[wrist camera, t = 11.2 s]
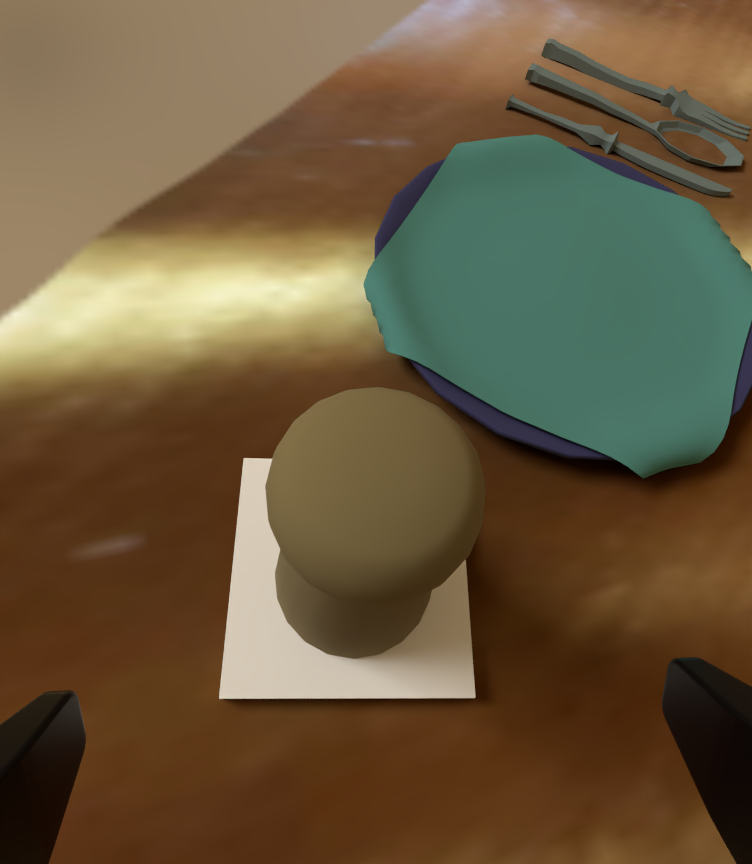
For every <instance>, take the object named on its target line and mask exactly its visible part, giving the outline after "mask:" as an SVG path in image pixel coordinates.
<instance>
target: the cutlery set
mask: <svg viewBox="0 0 752 864" xmlns="http://www.w3.org/2000/svg"><path fill="white" fill-rule="evenodd" d="M542 56H544V57H545V58H548V59H553V60H556V61H559V62H561V63H564V64H566V65H569V66H572V67H573V68H575V69H577V70H579V71H581V72H583V73H585V74H587V75H589V76H592V77H594V78H597V79H599V80H602V81H604V82H607V83H609V84H612V85H614V86H617V87H619V88H622V89H624V90H627V91H629V92H633V93H637V94H641V95H644V96H647V97H650V98H653V99H657V100H660V101H661V104H660V105H661V106H665V107H669V108H670V109H671V111H672V114H673V116H676V117H678V118H682V119H685V120H688V121H690V122H693V123H695V124H698V125H701V126H704V127H707V128H709V129H712V130H715V131H718V132H721V133H723V134H726V135H729V136H732V137H734V138H737V139H740V140H743V141H746V139H747V137H745V136H747V135H748V133H749V132H747V131H744V130H741V129H738V128H736V127H733V126H731V125H734V126H737V127H740V128H742V129H745V130H748V131H749V129H750V127H749V126H746V125H743V124H740V123H737V122H735V121H733V120H731V119H729V118H727V117H725V116H723V115H722V114H720V113H718V112H717V111H715V110H713V109H712V108H710V107H708V106H706V105H704V104H703V103H701V102H698V101H696V100H695V99H693V98H692V97H690V96H689V95H688V93H687V91H686V90H684V91H681V92H679V93H678V92H677V91H676V89H675V88H674V87H673V86H671V87H670V88H668V89H667V90H664V89H662V88H659V87H656V86H654V85H651V84H648V83H645V82H642V81H638V80H635V79H631V78H628V77H626V76H624V75H622V74H620V73H618V72H616V71H613V70H611V69H609V68H607V67H605V66H603V65H601V64H599V63H597V62H595V61H594V60H592V59H590V58H589V57H587V56H585V55H583V54H582V53H580V52H578V51H576V50H574V49H571V48H569V47H567V46H565V45H562V44H560V43H559V42H557V41H556V40H554V39H548V40H547V42H546V43H545V46H544V49H543V52H542ZM525 79H526V80H528V81H531V82H534V83H537V84H540V85H543V86H546V87H549V88H552V89H555V90H558V91H560V92H563V93H565V94H568V95H570V96H573V97H575V98H578V99H580V100H583V101H586V102H588V103H591V104H593V105H595V106H597V107H599V108H601V109H603V110H605V111H607V112H609V113H611V114H613V115H615V116H618V117H620V118H622V119H624V120H627V121H629V122H631V123H633V124H635V125H637V126H639V127H641V128H642V129H644V130H646V131H648V132H650V133H652V134H653V135H655V136H657V137H658V139H659V140H660V141H661V142H662V143H663V144H664V146H665V147H666V148H667V149H668V150H669V151H671V152H672V153H674V154H676V155H678V156H679V157H681V158H683V159H684V160H686V161H689V162H693V163H697V164H700V165H704V166H708V167H723V166H741V164H742V161H743V158H744V156H743V155H742V154H741V153H740V152H739V151H738V150H737V149H736V148H735V147H734V146H733V145H732V144H731V143H730V142H729V141H727V140H725V139H724V138H722V137H720V136H718V135H716V134H714V133H712V132H711V131H709V130H707V129H705V128H703V127H699V126H696V125H692V124H689V123H685V122H682V121H658V122H655V123H652V124H650V123H649V122H647V121H645V120H644V119H642V118H640V117H639V116H637V115H635V114H634V113H632V112H630V111H628V110H626V109H624V108H622V107H620V106H618V105H616V104H614V103H613V102H611V101H609V100H608V99H606V98H604V97H603V96H601V95H599V94H597V93H595V92H593V91H591V90H589V89H587V88H585V87H582V86H580V85H578V84H576V83H574V82H572V81H570V80H567V79H565V78H563V77H561V76H559V75H557V74H555V73H553V72H551V71H548V70H546V69H544V68H542V67H540V66H539V65H536V64H534V63H532V65H531V66H530V68H529V69H528V72H527V75H526V78H525ZM510 106H511V107H514V108H517V109H520V110H522V111H525V112H528V113H531V114H534V115H537V116H540V117H542V118H545V119H547V120H549V121H551V122H553V123H556V124H558V125H560V126H562V127H565V128H567V129H570V130H572V131H574V132H576V133H577V134H578V135H580V136H581V137H582V138H583V139H584V140H585V141H586V142H587V143H588V144H589V145H601V146H602V148H603V149H604V150H605V152H606V154H609V153H610V152H611V151H614V152H616V153H617V154H619V155H621V156H623V157H625V158H626V159H628V160H630V161H632V162H634V163H636V164H638V165H640V166H642V167H644V168H646V169H648V170H651V171H653V172H655V173H657V174H660V175H662V176H664V177H667V178H669V179H671V180H674V181H676V182H678V183H681V184H683V185H685V186H688V187H690V188H693V189H695V190H697V191H700V192H702V193H705V194H708V195H713V196H723V197H725V196H728V195H729V194H730V192H731V191H732V189H729V188H727V187H725V186H722V185H720V184H717V183H715V182H713V181H710V180H708V179H706V178H703V177H701V176H699V175H696V174H694V173H691V172H689V171H687V170H684V169H682V168H680V167H677V166H675V165H673V164H670V163H668V162H665V161H663V160H661V159H658V158H656V157H654V156H651V155H649V154H647V153H644V152H642V151H639V150H637V149H635V148H632V147H630V146H628V145H625V144H623V143H621V142H618V141H617V139H618V132H619V131H618V132H617V133H615V134H614V135H609V134H606V133H605V132H604V130H603V129H602V128H601V127H600V126H593V125H580V124H577V123H575V122H572V121H570V120H568V119H565V118H563V117H560V116H556V115H553V114H550V113H546V112H544V111H541V110H539V109H537V108H535V107H533V106H531V105H529V104H527V103H524V102H522V101H520V100H518V99H516V98H514V95H513V94H512V95H511V97H510V98H509V100H508V103H507V106H506V109H507V108H509V107H510ZM506 109H505V110H506ZM725 122H726V123H725ZM727 123H728V124H727ZM729 124H731V125H729ZM725 128H726V129H725ZM727 129H729V130H732V131H734V132H737V133H740V134H743V135H745V136H742V135H739V134H736V133H734V132H732V131H729V130H727ZM674 130H679V131H684V132H688V133H692V134H696V135H698V136H700V137H702V138H704V139H706V140H707V141H709V142H711V143H713V144H715V145H716V146H717V147H718V148H719V149H720V150H721V151H722V152H723V153H724V154H725V155H726V156H727V158H726V160H725V162H724V165H718V164H714V163H711V162H707V161H704V160H700V159H697V158H694V157H691V156H690V155H688V154H686V153H684V152H683V151H681V150H679V149H677V148H675V147H674V146H672V145H670V144H669V143H668V142H667V141H666V140H665V139H664V138H663V137H662V134H663V132H665V131H674ZM364 288H365V293H366V297H367V300H368V301H369V302H370V303H371V307H372V311H373V315H374V316H375V317H376V318H377V322H378V327H379V331H380V333H381V334H382V335H383V338H384V343H385V348H386V350H387V351H389V352H390V353H394V354H397V355H401V356H404V357H406V358H407V359H408V360H409V361H410V362H411V364H412V365H413V366H414V367H415V368H416V370H417V371H418V372H419V373H420V374H421V376H422V377H423V378H424V379H425V380H426V382H427V383H428V384H429V385H430V386H431V388H432V389H433V390H434V391H435V393H436V394H437V395H439V396H440V397H442V398H443V399H445V400H446V401H448V402H449V403H450V404H452V405H453V406H455V407H456V408H458V409H459V410H461V411H462V412H464V413H465V414H467V415H468V416H470V417H471V418H473V419H474V420H475V421H477V422H478V423H480V424H481V425H483V426H484V427H486V428H487V429H489V430H490V431H492V432H493V433H495V434H496V435H499V436H502V437H505V438H508V439H511V440H513V441H516V442H519V443H522V444H525V445H528V446H531V447H534V448H537V449H540V450H543V451H546V452H548V453H551V454H554V455H557V456H560V457H563V458H569V459H589V460H609V461H619V462H621V463H622V464H624V465H626V466H627V467H629V468H630V469H631V470H633V471H634V472H635V473H637V474H638V475H639V476H641V477H642V478H643V479H644V478H646V477H648V476H651V475H653V474H656V473H658V472H661V471H664V470H667V469H671V468H675V467H681V466H686V465H691V464H696V463H700V462H702V461H703V460H704V459H706V458H707V457H708V456H710V455H711V454H712V453H714V452H715V450H716V449H717V447H718V446H719V444H720V443H721V441H722V440H723V438H724V435H725V433H726V430H727V427H728V425H729V420H730V418H731V417H732V416H734V415H735V414H736V413H738V412H739V411H740V410H741V409H742V407H743V405H744V402H745V400H746V398H747V396H748V394H749V392H750V390H751V388H752V272H751V267H750V265H749V264H748V263H747V262H746V261H745V260H744V259H743V258H741V255H740V251H739V250H738V249H737V248H736V247H734V246H733V245H732V244H731V243H730V237H728V236H727V235H726V234H725V233H724V232H723V231H722V230H721V229H720V224H719V223H718V222H717V221H716V220H715V219H714V218H712V217H711V215H710V212H709V211H708V210H707V209H706V208H704V207H703V206H702V205H701V204H699V203H697V202H695V201H692V200H690V199H688V198H685V197H682V196H679V195H678V194H677V193H676V192H674V191H673V190H672V189H670V188H668V187H666V186H664V185H662V184H661V183H659V182H657V181H655V180H653V179H652V178H650V177H648V176H646V175H644V174H642V173H641V172H639V171H637V170H635V169H633V168H632V167H630V166H628V165H626V164H624V163H621V162H618V161H615V160H611V159H608V158H605V157H602V156H599V155H596V154H592V153H589V152H586V151H583V150H580V149H577V148H573V147H566V146H564V145H562V144H561V143H559V142H557V141H555V140H553V139H551V138H548V137H544V136H541V135H526V136H514V137H504V138H496V139H488V140H481V141H474V142H466V143H460V144H456V146H455V147H454V148H453V149H452V150H451V152H450V153H449V155H448V157H447V158H446V159H444V160H441V161H439V162H437V163H434V164H432V165H430V166H427V167H426V168H425V169H424V170H423V171H422V172H421V173H419V174H418V175H417V176H416V177H415V178H414V179H413V180H412V181H411V182H410V183H409V184H407V185H406V186H405V187H404V188H403V189H402V190H401V191H400V192H399V193H398V194H397V195H395V196H394V198H393V200H392V202H391V204H390V206H389V209H388V211H387V213H386V215H385V217H384V220H383V222H382V224H381V226H380V228H379V230H378V233H377V235H376V237H375V260H374V262H373V264H372V265H371V267H370V268H369V270H368V273H367V276H366V279H365V282H364Z"/></svg>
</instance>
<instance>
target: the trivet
mask: <svg viewBox="0 0 752 864" xmlns="http://www.w3.org/2000/svg"><path fill="white" fill-rule="evenodd" d="M271 462H272V459H257V458H244V461H243V471H242V480H241V490H240V500H239V510H238V519H237V529H236V539H235V548H234V558H233V568H232V578H231V587H230V597H229V607H228V617H227V626H226V636H225V646H224V655H223V665H222V675H221V685H220V694H219V699H432V698H476V697H475V683H474V669H473V655H472V641H471V627H470V613H469V598H468V584H467V570H466V560H465V561H464V562H463V563H462V564H461V565H460V566H459V567H458V568H457V569H456V570H455V571H454V572H453V574H452V575H451V576H450V577H449V578H448V579H447V580H446V581H445V582H444V583H443V584H442V585H441V586H439V587H437V588H435V589H433V590H432V592H431V597H430V601H429V603H428V605H427V607H426V610H425V612H424V614H423V616H422V618H421V621H420V623H419V624H418V625H417V626H416V627H415V628H414V630H413V631H412V632H411V633H410V634H409V635H408V636H407V637H406V638H405V639H404V640H403V642H401V643H399V644H398V645H396V646H394V647H392V648H390V649H388V650H387V651H385V652H383V653H381V654H379V655H373V656H367V657H361V658H355V659H352V658H346V657H340V656H334V655H329V654H326V653H324V652H323V651H321V650H319V649H317V648H315V647H314V646H312V645H310V644H308V643H306V642H305V641H304V640H303V639H302V638H301V637H300V636H299V635H298V634H297V632H296V631H295V630H294V629H293V628H292V627H291V626H290V625H289V624H288V623H287V620H286V618H285V616H284V614H283V611H282V609H281V607H280V604H279V602H278V600H277V593H276V581H275V570H276V566H277V561H278V557H279V553H280V548H279V545H278V543H277V541H276V539H275V536H274V534H273V532H272V530H271V527H270V524H269V521H268V513H267V501H266V490H265V485H266V481H267V478H268V474H269V470H270V466H271Z"/></svg>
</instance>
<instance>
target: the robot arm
mask: <svg viewBox="0 0 752 864" xmlns="http://www.w3.org/2000/svg"><path fill="white" fill-rule="evenodd" d="M662 709H663V713H664V717H665V719H666V721H667V724H668V726H669V728H670V730H671V732H672V735H673V737H674V739H675V741H676V743H677V746H678V748H679V750H680V752H681V754H682V756H683V759H684V761H685V763H686V765H687V767H688V770H689V772H690V774H691V776H692V778H693V781H694V783H695V785H696V787H697V789H698V792H699V794H700V796H701V798H702V800H703V802H704V804H705V806H706V809H707V811H708V813H709V815H710V817H711V819H712V821H713V822H714V824H715V826H716V828H717V830H718V832H719V833H720V835H721V837H722V839H723V841H724V842H725V844H726V846H727V848H728V849H729V851H730V853H731V855H732V856H733V858H734V860H735V862H736V863H737V864H752V687H751V686H749V685H747V684H746V683H744V682H742V681H740V680H738V679H737V678H735V677H733V676H731V675H729V674H728V673H726V672H724V671H722V670H720V669H719V668H717V667H715V666H713V665H712V664H710V663H708V662H706V661H704V660H702V659H700V658H697V657H689V658H675V659H673V660H671V661H670V663H669V665H668V669H667V674H666V680H665V685H664V691H663V696H662ZM85 743H86V734H85V728H84V723H83V718H82V713H81V709H80V704H79V699H78V696H77V694H76V693H75V692H73V691H70V690H68V691H50V692H45V693H43V694H42V695H40V696H38V697H37V698H36V699H34V700H33V701H32V702H30V703H29V704H28V705H26V706H25V707H23V708H22V709H21V710H19V711H18V712H17V713H15V714H14V715H13V716H11V717H10V718H9V719H7V720H6V721H5V722H3V723H2V724H0V864H48V863H49V860H50V857H51V854H52V852H53V849H54V846H55V842H56V839H57V836H58V833H59V830H60V827H61V823H62V820H63V817H64V814H65V811H66V808H67V804H68V801H69V798H70V795H71V792H72V788H73V785H74V782H75V779H76V776H77V773H78V769H79V766H80V763H81V760H82V757H83V753H84V750H85Z"/></svg>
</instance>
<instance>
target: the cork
mask: <svg viewBox="0 0 752 864" xmlns="http://www.w3.org/2000/svg"><path fill="white" fill-rule="evenodd" d="M265 490H266V501H267V513H268V521H269V524H270V527H271V530H272V532H273V534H274V536H275V539H276V541H277V543H278V545H279V548H280V553H279V557H278V561H277V566H276V570H275V581H276V593H277V600H278V602H279V604H280V607H281V609H282V611H283V614H284V616H285V618H286V620H287V623H288V624H289V625H290V626H291V627H292V628H293V629H294V630H295V631H296V632H297V634H298V635H299V636H300V637H301V638H302V639H303V640H304V641H305V642H306V643H308V644H310V645H312V646H314V647H315V648H317V649H319V650H321V651H323V652H324V653H326V654H329V655H334V656H340V657H346V658H352V659H355V658H361V657H367V656H373V655H379V654H381V653H383V652H385V651H387V650H388V649H390V648H392V647H394V646H396V645H398V644H399V643H401V642H403V640H404V639H405V638H406V637H407V636H408V635H409V634H410V633H411V632H412V631H413V630H414V628H415V627H416V626H417V625H418V624H419V623H420V621H421V618H422V616H423V614H424V612H425V610H426V607H427V605H428V603H429V601H430V597H431V592H432V590H433V589H435V588H437V587H439V586H441V585H442V584H443V583H444V582H445V581H446V580H447V579H448V578H449V577H450V576H451V575H452V574H453V572H454V571H455V570H456V569H457V568H458V567H459V566H460V565H461V564H462V563H463V562H464V561H465V560H466V558H467V557H468V556H469V555H470V553H471V550H472V548H473V546H474V544H475V541H476V539H477V537H478V534H479V532H480V530H481V527H482V525H483V513H484V499H485V480H484V476H483V472H482V469H481V465H480V461H479V457H478V453H477V452H476V450H475V449H474V447H473V445H472V444H471V442H470V440H469V439H468V437H467V436H466V434H465V432H464V431H463V429H462V428H461V426H459V425H458V424H457V423H456V422H455V421H454V420H453V419H452V418H450V417H449V416H448V415H447V414H446V413H445V412H444V411H443V410H441V409H440V408H439V407H438V406H436V405H434V404H432V403H430V402H428V401H426V400H424V399H422V398H420V397H418V396H415V395H413V394H411V393H409V392H404V391H398V390H393V389H387V388H382V387H373V388H363V389H352V390H346V391H343V392H341V393H338V394H336V395H333V396H331V397H328V398H326V399H323V400H321V401H318V402H317V403H316V404H315V405H313V406H312V407H311V408H310V409H308V410H307V411H306V412H305V413H303V414H302V415H301V416H300V417H298V418H297V419H296V420H295V421H294V422H293V423H292V425H291V427H290V428H289V430H288V431H287V433H286V434H285V436H284V437H283V439H282V440H281V442H280V443H279V445H278V446H277V448H276V450H275V452H274V454H273V458H272V462H271V466H270V470H269V474H268V478H267V481H266V485H265Z"/></svg>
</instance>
